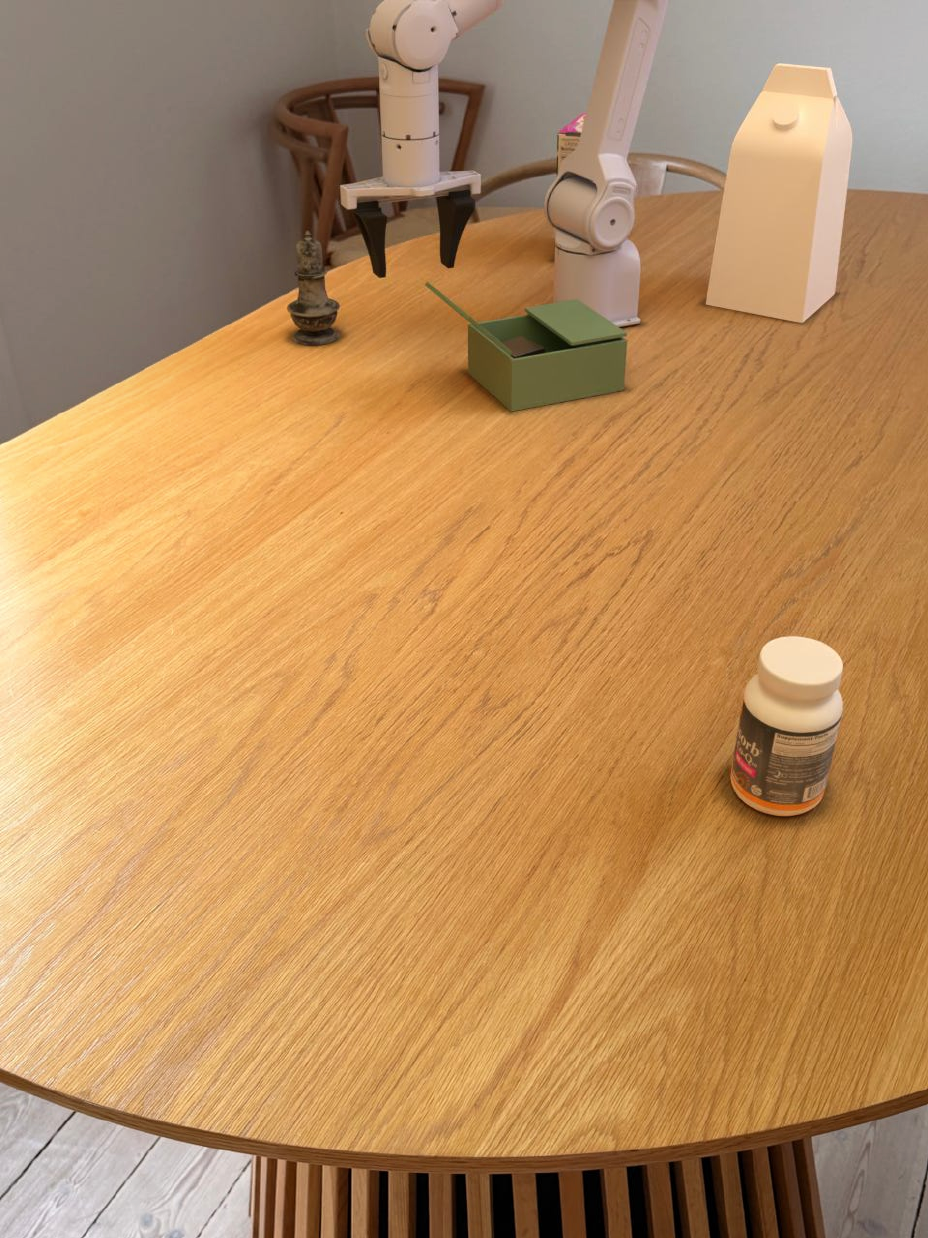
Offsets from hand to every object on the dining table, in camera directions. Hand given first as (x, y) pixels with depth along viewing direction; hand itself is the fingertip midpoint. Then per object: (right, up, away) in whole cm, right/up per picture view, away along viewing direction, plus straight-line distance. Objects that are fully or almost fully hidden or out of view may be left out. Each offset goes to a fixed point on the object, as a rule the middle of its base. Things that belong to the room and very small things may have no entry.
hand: (413, 270), depth 127 cm
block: (+11, -12, -2) cm, 16 cm away
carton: (+14, -12, -1) cm, 18 cm away
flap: (+6, -7, -8) cm, 12 cm away
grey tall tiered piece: (-12, -5, +10) cm, 16 cm away
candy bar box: (+21, +13, +35) cm, 43 cm away
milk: (+42, +2, +20) cm, 47 cm away
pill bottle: (+24, -47, -53) cm, 75 cm away
